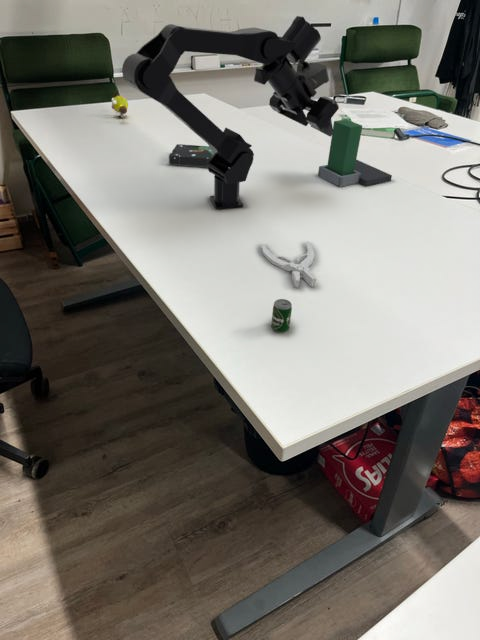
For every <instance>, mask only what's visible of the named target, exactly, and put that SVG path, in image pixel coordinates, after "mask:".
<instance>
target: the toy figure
mask: <svg viewBox="0 0 480 640" xmlns="http://www.w3.org/2000/svg"><path fill="white" fill-rule="evenodd" d="M111 109H112V110H114V111H115V112H116V113H118V114H119V115H118V116H117V117H118V119H124V115H126V114H127V112H128V109H129V103H128V100H127V99H126V98H125V97H124V96H122V95H119V94H116V95H115V96H114V97H112V98H111Z"/></svg>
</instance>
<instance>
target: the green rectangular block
mask: <svg viewBox="0 0 480 640" xmlns="http://www.w3.org/2000/svg"><path fill="white" fill-rule="evenodd" d="M332 127H333V134H332V136H331V139H330V145H329V151H328V159H327V164H326V165H327V169H328V170H330V171H332V172H334V173H336V174H338V175H340V176H344V175H349V174H354V169H355V164H356V160H357V158H358V153H359V147H360V142H361V136H362V131H363V125H362V124H359V123H356V122H354V121H351V120H348V119H340V120H333V124H332Z"/></svg>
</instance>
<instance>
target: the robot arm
mask: <svg viewBox="0 0 480 640" xmlns="http://www.w3.org/2000/svg"><path fill="white" fill-rule="evenodd" d="M321 40H322V37H321V34H320V31H319V30H318V29H316V28H315V26H313V25H312V24H311V23H310V22H308V21H307V20H306V18H305V17H304V16H299V15H297V16H295V18H294V19H293V20H292V22H291V25H290V26H289V27H288V28H287V30H286V31H285V32H284V33H283V35H282V36H279V35H278V33H277V32H275V31H272V30H268V29H263V28H259V27H247V28H240V29H237V30H233V31H232V30H231V31H226V30H216V29H206V28H199V27H189V26H188V27H187V26H182V25H181V26H180V25H177V24H173V23H169V24H166V25H165V26H164V27H163V28H162V29H161V30H160V31H159V32H158V34H156V35H155V36H154V37H153V38H151V39H150V40H148V42H145V43H144V44H143V45H142V46H141V47H140V48H139V49H138V50H137V52H136V53H131V54H130V55H128V56H127V57H126V58H125V59H124V61H123V62H122V63H123V64H122V68H121V72H122V79H123V80H124V82H125V83H126V84H127V85H128V86H130V87H132V88H133V89H135V90H136V91H138V92H140V93H142V94H144V95H145V96H147V97H149V98H150V99H153V100H154V101H156V102H158V103H159V104H161V105H162V106H163V107H164V108H165V109H167V111H169V112H170V114H173V115H174V117H176V118H177V120H179V121H180V122H182V123H183V124H184V125H185V126H186V127H187V128H189V129H190V131H192V132H193V133H194V134H196V135H197V136H198V137H199V138H200V139H202V140H203V141H204V142H205V143H206V144H207V145H208V146H209V147H210V149H211V150H212V152H213V154H214V155H213V157H212V158H211V159H210V160H209V162H208V163H207V167H206V168H207V170H208V172H209V173H210V174H212V175H214V176H213V178H214V179H213V195H210V196H209V199H210V201H211V203H212V204H213V207H214V208H215V210H221V209H231V208H232V209H233V208H244V205H245V204H244V203H243V201H242V199H240V185H241V184H240V183H243V182H246V181H247V178H248V175H249V173H250V169H251V167H252V165H253V162H254V156H255V154H254V151H253V150H252V147H253V146H252V144H251V143H249V142H247V141H246V140H245V138H244V137H242V135H241V134H240V133H237V132H236V131H234V130H232V129H230V128H228V127H225V128H224V130H222V129H221V128H219V127H218V125H216V124H215V122H213V121H212V120H211V119H210V118H208V116H207V115H206V114H204V113H203V112H202V111H201V110H200V109H199V108H198V107H197V106H196V105H195V104H194V103H192V102H191V101H190V100H189V99H188V98H187V97H186V96H185V95H184V94H183V93H181V91H180V90H179V89H178V88H177V86H176V84H175V83H174V81H173V78H172V77H171V76H170V75H171V74H172V73H173V72H174V70H175V68H176V66H177V64H178V62H179V60H180V58H181V56H182V55H184V53H185V52H186V53H187V52H188V53H200V54H213V55H226V56H227V55H228V56H237V57H240V58H243V59H247V60H249V61H253V62H256V63H259V64H262V65H261V66H260V67H256V68H255V74H254V78H253V81H254V82H255V83H258V84H260V85H264V86H265V85H266V84H267V83H268V84H269V85H270V86H271V88H272V89H273V93H272V96H270V98H269V102H268V103H269V104H268V105H269V107H270V108H271V109H272V111H274V112H277V114H279V115H282V116H284V117H285V118H288V119H289V120H291V121H294V122H296V123H298V124H300V125H302V126H304V127H307V126H308V125H310V127H311V128H312V129H315V130H316V131H318V132H320V133H322V134H323V135H326V136H328V137H331V138H332V134H333V122H332V121H333V120H332V118H333V117H334V116H335V115H336V113H337V112H338V111H339V109H340V105H339V104H338V103H337V100H335V99H333V98H331V97H328V96H320V97H319V98H318V99H317V100H315V99H312V98H314V97H315V96H316V95H317V90H316V89H318V88H320V87H321V86H323V85H324V84H327V83H328V82H330V78H329V73H328V67H327V65H326V64H323V63H320V62H310V63H309V62H308V61H306V60H307V58H308V57H309V56H310V55H311V53H312V52H313V51H314V49H315V48H316V47H317V46H318V44H319V43H320V41H321ZM293 65H296V69H295V67H294V66H293ZM304 111H307V113H305V112H304Z"/></svg>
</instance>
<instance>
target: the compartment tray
mask: <svg viewBox="0 0 480 640" xmlns="http://www.w3.org/2000/svg"><path fill="white" fill-rule="evenodd" d="M327 165H328V164H325V165H320V166H319V167H318V171H317V176H318V177H319V178H322V179H323V180H325V181H327V182H329V183H331V184H333V185H335V186H337V187H339V188H342V187H347V186H352V185H356V184H360V185H361V186H364V187H370V186H374V185H379V184H383V183H387V182H391V181H392V177H393V175H392V174H390V173H388V172H385V171H384V170H381V169H379V168H376V167H375V166H372V165H370V164H368V163H366V162H363V161H361V160H359V159H356V164H355V169H354V174H349V175H344V176H340V175H338V174H336V173H334V172H332V171H330V170H328V169H327Z"/></svg>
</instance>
